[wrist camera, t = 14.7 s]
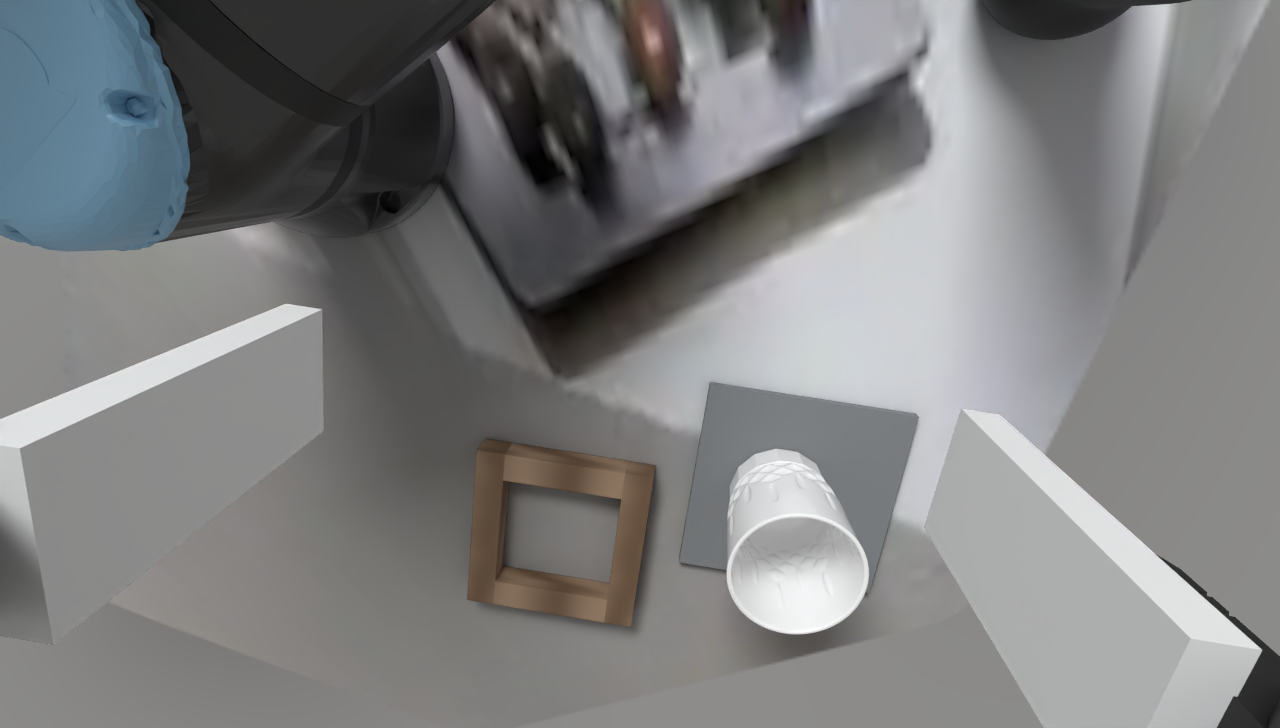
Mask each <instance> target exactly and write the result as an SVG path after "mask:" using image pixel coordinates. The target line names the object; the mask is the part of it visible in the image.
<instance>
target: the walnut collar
mask: <svg viewBox="0 0 1280 728" xmlns="http://www.w3.org/2000/svg"><path fill="white" fill-rule="evenodd" d="M654 472H655V465H650V464H644V463H638V462H631V461H625V460H619V459H612V458H606V457H600V456H593V455H587V454H581V453H574V452H568V451H562V450H555V449H549V448H543V447H536V446H530V445H523V444H517V443H511V442H504V441H498V440H492V439H485V440H484V441H483V442H482V444H481V445H480V446H479V448H478V449H477V454H476V469H475V485H474V501H473V516H472V532H471V548H470V563H469V579H468V595H467V600H472V601H478V602H484V603H490V604H496V605H502V606H508V607H514V608H520V609H526V610H532V611H538V612H544V613H550V614H556V615H562V616H568V617H574V618H580V619H586V620H592V621H598V622H604V623H610V624H616V625H622V626H628V627H631V622H632V615H633V609H634V602H635V596H636V589H637V583H638V576H639V570H640V564H641V557H642V551H643V544H644V538H645V531H646V525H647V518H648V512H649V505H650V499H651V493H652V486H653V480H654ZM509 481H510V482H516V483H523V484H529V485H535V486H541V487H548V488H554V489H560V490H567V491H573V492H579V493H585V494H592V495H598V496H604V497H610V498H617V499H621V505H620V512H619V520H618V527H617V534H616V541H615V548H614V555H613V563H612V570H611V577H610V583H604V582H598V581H592V580H586V579H580V578H574V577H568V576H562V575H556V574H550V573H544V572H538V571H532V570H525V569H519V568H513V567H507V566H503V554H504V541H505V529H506V517H507V505H508V492H509Z"/></svg>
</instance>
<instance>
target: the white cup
mask: <svg viewBox="0 0 1280 728" xmlns="http://www.w3.org/2000/svg"><path fill="white" fill-rule="evenodd" d="M868 580H869V566H868V561H867V557H866V555H865V552H864V550H863V548H862V546H861V544H860V542H859V540H858V538H857V536H856V534H855V532H854V530H853V528H852V526H851V524H850V522H849V520H848V518H847V516H846V514H845V512H844V510H843V508H842V506H841V504H840V502H839V500H838V499H837V497H836V496H835V494H834V492H833V490H832V488H831V487H830V486H829V485H828V484H827V482H826V480H825V478H824V477H823V475H822V473H821V471H820V470H819V468H818V466H817V464H816V463H814V462H813V461H811V460H810V459H808V458H807V457H805V456H804V455H802V454H801V453H799V452H796V451H789V450H783V449H772V450H768V451H764V452H760V453H757V454H754V455H753V456H752V457H750V458H749V459H748V460H747V461H745V462H744V463H743V464H742V465H740V466H739V467H738V469H737V471H736V473H735V475H734V477H733V479H732V481H731V484H730V502H729V507H728V517H727V584H728V588H729V592H730V594H731V597H732V599H733V600H734V602H735V604H736V605H737V607H738V608H739V609H740V610H741V612H742V613H743V614H744V615H745V616H747V617H748V618H749V619H750V620H752V621H753V622H755V623H756V624H758V625H760V626H762V627H764V628H766V629H769V630H772V631H775V632H779V633H785V634H810V633H815V632H819V631H822V630H825V629H828V628H830V627H832V626H834V625H836V624H838V623H840V622H841V621H843V620H844V619H845V618H847V617H848V616H849V615H850V614H851V613H852V612H853V611H854V610H855V609H856V608H857V606H858V605H859V604H860V602H861V600H862V599H863V597H864V595H865V592H866V589H867V586H868Z"/></svg>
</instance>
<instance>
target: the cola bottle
mask: <svg viewBox="0 0 1280 728" xmlns="http://www.w3.org/2000/svg"><path fill="white" fill-rule="evenodd" d="M982 1H983V3H984V5H985V7H986V8H987V10H988V12H989V13H990V14H991V15H992V17H993V18H994V19H995V20H996V21H997V22H998V23H999V24H1001V25H1002V26H1003V27H1005V28H1006V29H1008V30H1010V31H1012V32H1014V33H1016V34H1019V35H1022V36H1025V37H1029V38H1034V39H1043V40H1056V39H1065V38H1071V37H1075V36H1079V35H1082V34H1085V33H1088V32H1091V31H1093V30H1096V29H1098V28H1100V27H1102V26H1104V25H1106V24H1107V23H1109V22H1111V21H1113V20H1114V19H1116V18H1117V17H1119V16H1120V15H1121V14H1123V13H1124V12H1125V11H1127V10H1128V9H1129V8H1130V7H1131V6H1142V5H1159V4H1172V3H1180V2H1186V1H1191V0H982Z"/></svg>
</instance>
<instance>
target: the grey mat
mask: <svg viewBox="0 0 1280 728" xmlns="http://www.w3.org/2000/svg"><path fill="white" fill-rule="evenodd" d="M918 418H919V417H918V416H917V414H915V413H908V412H901V411H895V410H888V409H882V408H875V407H869V406H862V405H856V404H849V403H842V402H836V401H829V400H823V399H816V398H810V397H803V396H797V395H790V394H783V393H777V392H770V391H764V390H757V389H751V388H744V387H738V386H731V385H724V384H718V383H711V382H710V385H709V391H708V396H707V402H706V408H705V413H704V419H703V425H702V431H701V436H700V442H699V448H698V453H697V459H696V465H695V471H694V476H693V482H692V488H691V493H690V499H689V505H688V511H687V516H686V522H685V528H684V533H683V539H682V545H681V551H680V556H679V563H686V564H692V565H698V566H704V567H710V568H716V569H722V570H727V517H728V507H729V502H730V484H731V481H732V479H733V477H734V475H735V473H736V471H737V469H738V467H739V466H740V465H742V464H743V463H744V462H745V461H747V460H748V459H749V458H750V457H752V456H753V455H754V454H757V453H760V452H764V451H768V450H772V449H783V450H789V451H796V452H799V453H801V454H802V455H804V456H805V457H807V458H808V459H810V460H811V461H813V462H814V463H816V464H817V466H818V468H819V470H820V471H821V473H822V475H823V477H824V478H825V480H826V482H827V484H828V485H829V486H830V487H831V488H832V490H833V492H834V494H835V496H836V497H837V499H838V500H839V502H840V504H841V506H842V508H843V510H844V512H845V514H846V516H847V518H848V520H849V522H850V524H851V526H852V528H853V530H854V532H855V534H856V536H857V538H858V540H859V542H860V544H861V546H862V548H863V550H864V552H865V555H866V557H867V561H868V566H869V580H868V586H867V589H866V592H865V593H869V592H870V589H871V585H872V582H873V578H874V575H875V571H876V567H877V564H878V560H879V557H880V553H881V550H882V546H883V543H884V539H885V535H886V532H887V528H888V525H889V521H890V518H891V514H892V511H893V507H894V503H895V500H896V496H897V493H898V489H899V486H900V482H901V479H902V475H903V471H904V468H905V464H906V461H907V457H908V454H909V450H910V447H911V443H912V439H913V436H914V432H915V429H916V425H917V422H918Z"/></svg>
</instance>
